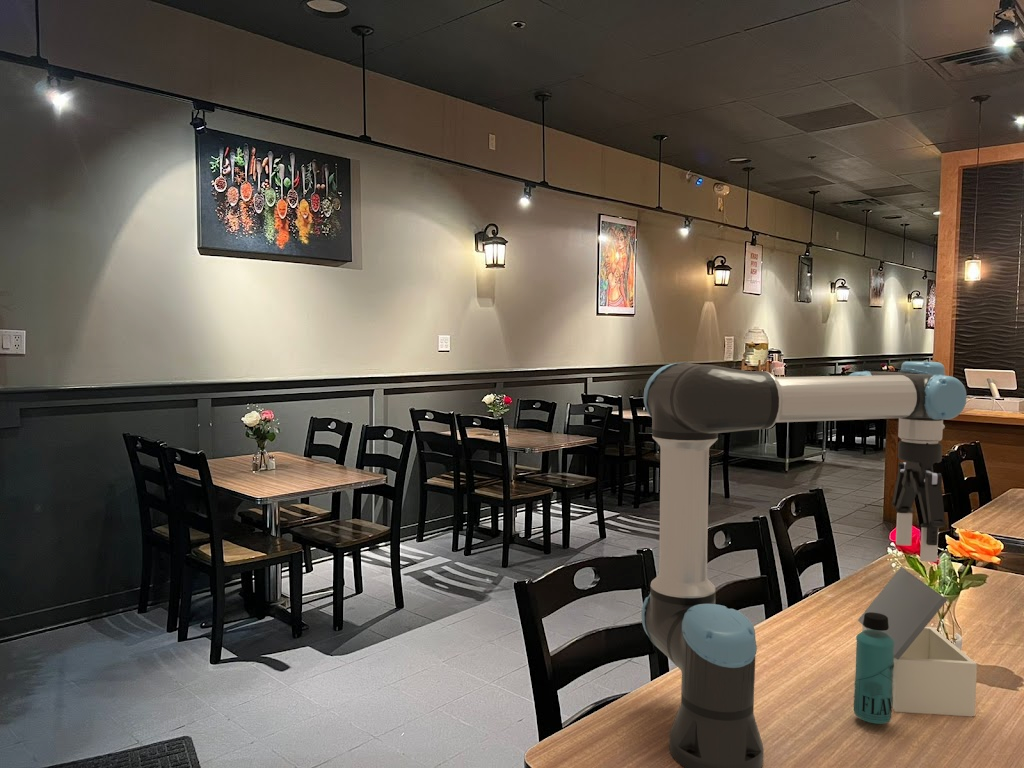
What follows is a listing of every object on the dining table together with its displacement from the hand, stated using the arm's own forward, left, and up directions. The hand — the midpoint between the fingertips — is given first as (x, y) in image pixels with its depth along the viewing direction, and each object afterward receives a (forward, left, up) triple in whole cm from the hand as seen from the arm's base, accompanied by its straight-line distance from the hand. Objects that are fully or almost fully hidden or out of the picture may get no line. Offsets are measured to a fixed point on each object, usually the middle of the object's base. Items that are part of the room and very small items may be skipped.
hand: (915, 552), depth 146 cm
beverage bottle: (-12, -14, -28) cm, 34 cm away
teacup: (+13, +17, -28) cm, 35 cm away
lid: (-2, 0, -12) cm, 12 cm away
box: (+1, 0, -28) cm, 28 cm away
